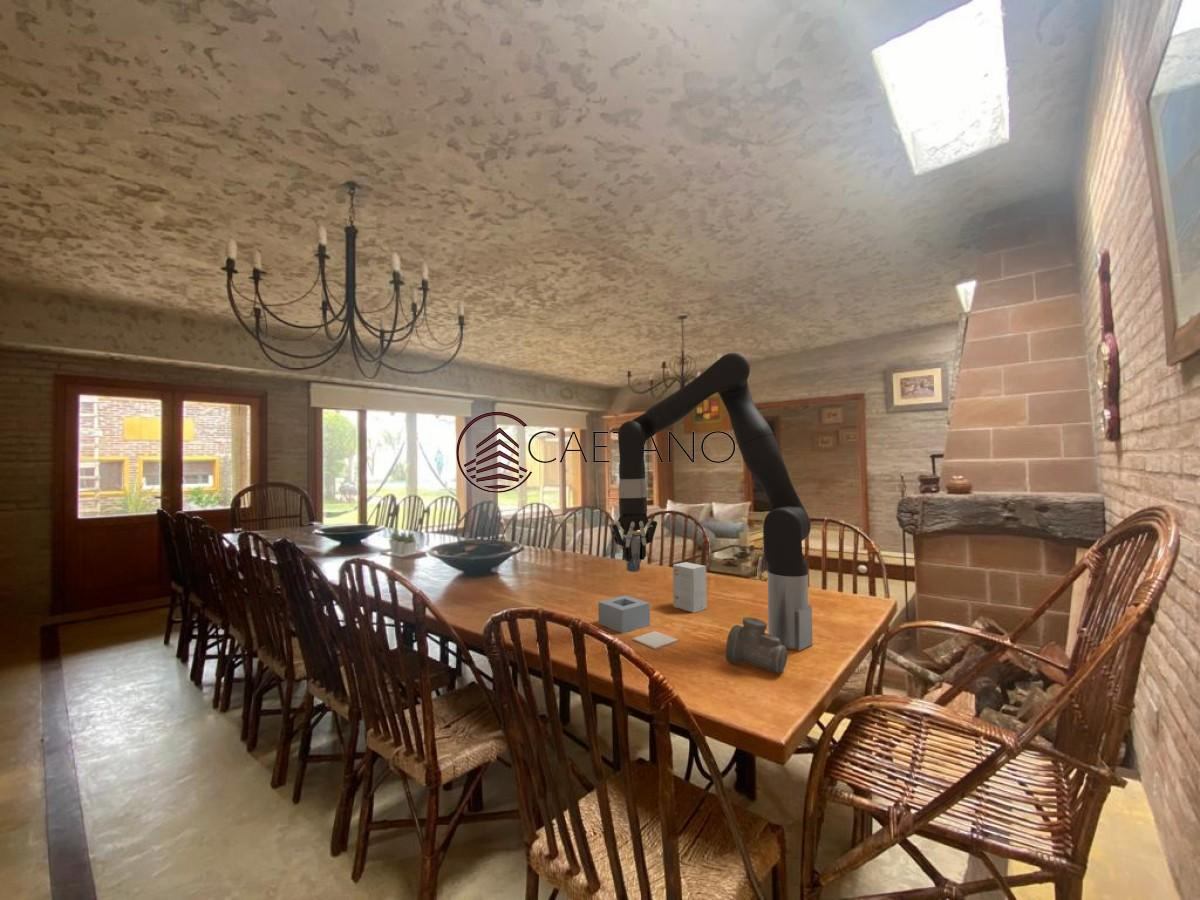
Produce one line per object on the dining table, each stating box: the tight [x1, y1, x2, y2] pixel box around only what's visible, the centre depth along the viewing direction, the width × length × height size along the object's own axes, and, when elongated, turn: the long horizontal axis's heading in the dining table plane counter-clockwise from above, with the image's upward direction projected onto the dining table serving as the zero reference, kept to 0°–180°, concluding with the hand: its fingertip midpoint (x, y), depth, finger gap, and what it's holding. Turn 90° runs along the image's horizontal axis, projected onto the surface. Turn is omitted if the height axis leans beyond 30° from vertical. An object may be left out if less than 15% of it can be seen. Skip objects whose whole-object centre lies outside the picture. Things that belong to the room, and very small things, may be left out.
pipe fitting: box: [724, 616, 788, 675], centre depth 106 cm, size 12×8×10 cm
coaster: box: [632, 630, 679, 650], centre depth 121 cm, size 8×8×1 cm
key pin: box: [625, 530, 642, 573], centre depth 130 cm, size 4×4×11 cm
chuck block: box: [597, 595, 651, 634], centre depth 134 cm, size 10×10×6 cm
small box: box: [672, 561, 708, 614], centre depth 148 cm, size 8×6×13 cm
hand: (634, 559), depth 130 cm, fingers closed on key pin, 3 cm apart
